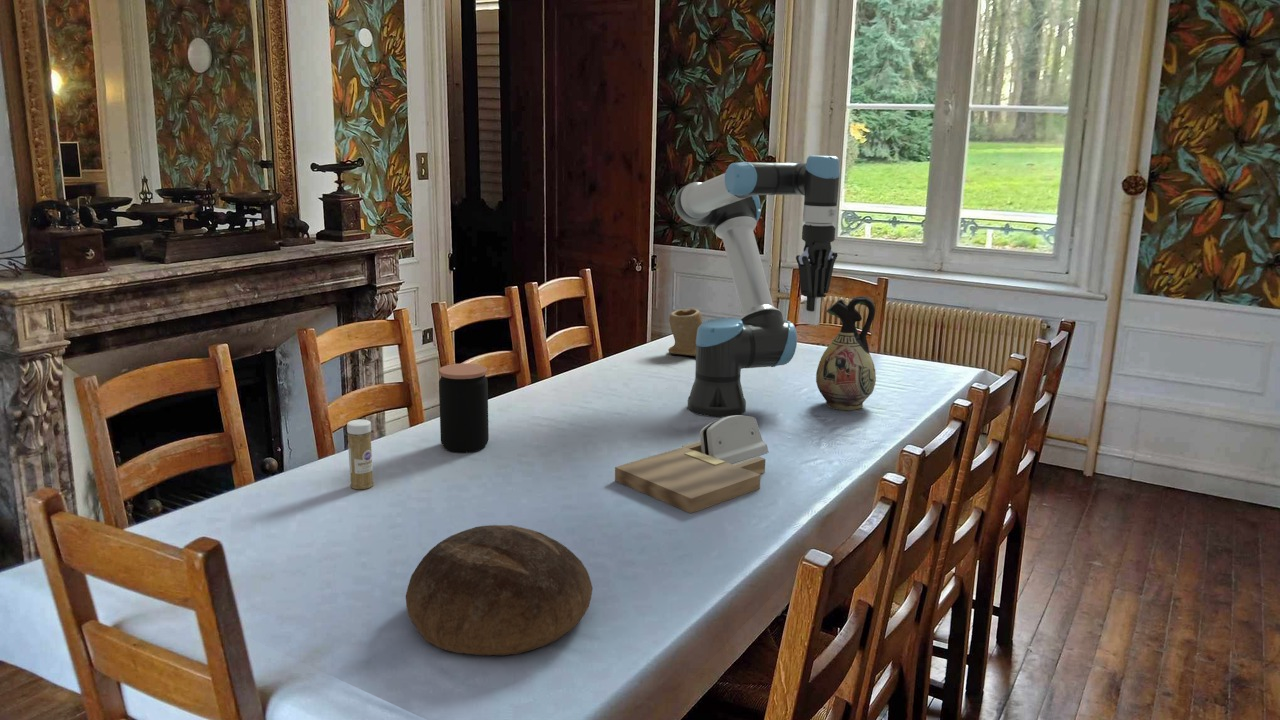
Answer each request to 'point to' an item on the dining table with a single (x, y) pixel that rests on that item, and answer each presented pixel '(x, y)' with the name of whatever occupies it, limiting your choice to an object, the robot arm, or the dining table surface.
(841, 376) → the ceramic jug
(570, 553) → the bread
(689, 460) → the brown flat wooden slab
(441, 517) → the dining table surface
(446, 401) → the coffee jar
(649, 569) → the dining table surface
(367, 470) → the sprinkles bottle
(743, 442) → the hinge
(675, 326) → the stone cup
